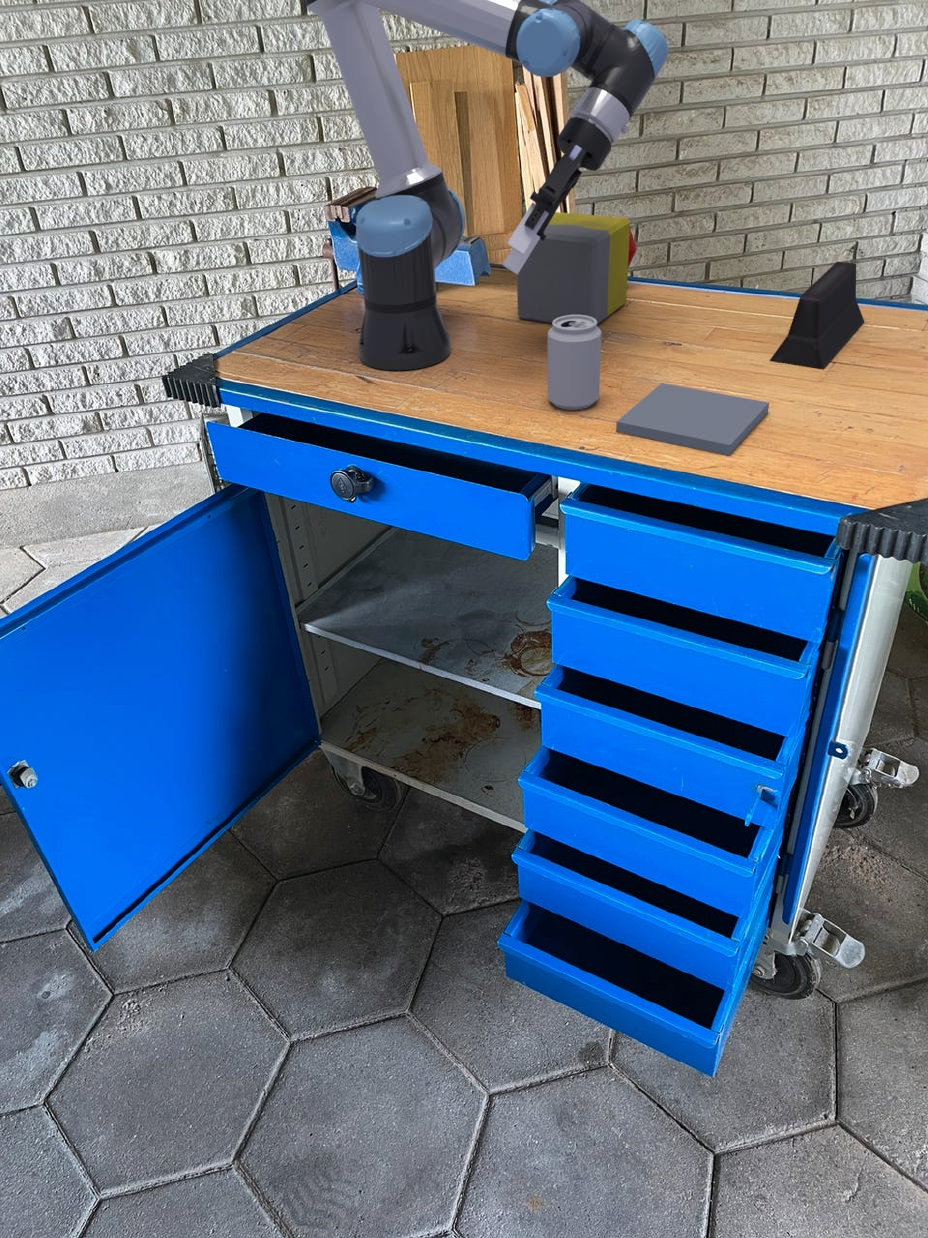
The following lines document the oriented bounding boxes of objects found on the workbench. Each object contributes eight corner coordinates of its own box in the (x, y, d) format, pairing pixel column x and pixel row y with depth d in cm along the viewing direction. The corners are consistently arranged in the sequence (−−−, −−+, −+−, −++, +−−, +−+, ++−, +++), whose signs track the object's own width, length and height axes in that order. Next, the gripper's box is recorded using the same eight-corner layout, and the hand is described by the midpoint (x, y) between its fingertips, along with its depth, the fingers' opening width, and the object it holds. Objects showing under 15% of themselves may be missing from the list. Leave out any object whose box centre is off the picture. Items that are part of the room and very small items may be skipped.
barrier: (824, 371, 145) (836, 305, 140) (767, 362, 150) (776, 297, 144) (865, 323, 161) (877, 262, 155) (813, 316, 165) (822, 256, 159)
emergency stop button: (646, 289, 181) (651, 204, 172) (593, 330, 164) (596, 239, 156) (574, 280, 188) (575, 198, 179) (516, 319, 171) (514, 231, 162)
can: (566, 387, 145) (567, 308, 138) (609, 398, 141) (612, 317, 134) (537, 404, 140) (537, 323, 133) (580, 416, 136) (582, 333, 129)
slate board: (616, 431, 131) (616, 421, 131) (660, 392, 141) (661, 382, 141) (728, 455, 124) (730, 444, 123) (767, 412, 134) (769, 402, 133)
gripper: (628, 114, 128) (540, 254, 130) (600, 173, 152) (527, 290, 155) (581, 81, 127) (494, 223, 130) (561, 145, 152) (488, 264, 154)
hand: (512, 260), depth 142 cm, fingers open, 13 cm apart
